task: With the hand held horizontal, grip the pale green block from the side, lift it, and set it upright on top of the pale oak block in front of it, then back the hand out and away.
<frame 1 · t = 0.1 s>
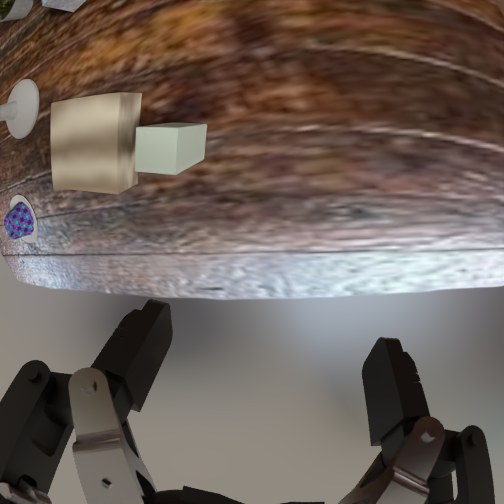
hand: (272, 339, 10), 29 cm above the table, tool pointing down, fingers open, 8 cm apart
candlestick: (23, 108, 34), on the table
oak block: (103, 138, 36), on the table
house plant: (27, 11, 22), on the table
pale green block: (188, 140, 35), on the table
pudding: (25, 217, 46), on the table
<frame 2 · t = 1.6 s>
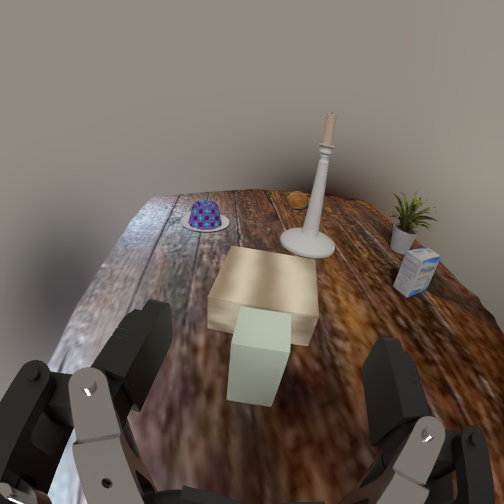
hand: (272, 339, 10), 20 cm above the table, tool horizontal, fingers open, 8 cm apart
candlestick: (307, 244, 63), on the table
medicine box: (409, 289, 50), on the table
oak block: (263, 307, 42), on the table
pastry: (297, 205, 87), on the table
house plant: (395, 250, 66), on the table
pale green block: (251, 386, 29), on the table
pudding: (204, 224, 67), on the table
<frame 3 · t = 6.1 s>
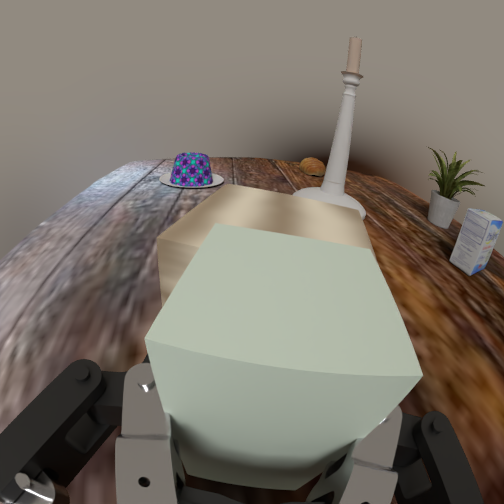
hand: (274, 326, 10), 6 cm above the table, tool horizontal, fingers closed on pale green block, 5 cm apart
candlestick: (328, 207, 45), on the table
medicine box: (466, 266, 32), on the table
oak block: (272, 281, 24), on the table
pastry: (312, 174, 69), on the table
house plant: (435, 224, 48), on the table
pale green block: (249, 442, 11), on the table, touching gripper
pudding: (191, 183, 49), on the table
when the fingers open (13 cm above the table, at t = 11.8 s): pale green block drops 2 cm, resting on oak block.
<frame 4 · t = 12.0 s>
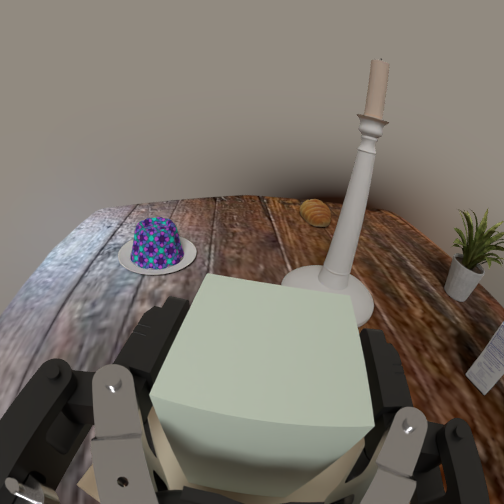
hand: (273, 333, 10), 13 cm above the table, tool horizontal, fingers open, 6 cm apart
candlestick: (327, 297, 35), on the table
medicine box: (483, 373, 23), on the table
oak block: (237, 474, 15), on the table, touching pale green block
pastry: (315, 220, 60), on the table
house plant: (452, 295, 38), on the table
pale green block: (244, 454, 12), point 6 cm above the table, touching oak block
pudding: (157, 257, 40), on the table
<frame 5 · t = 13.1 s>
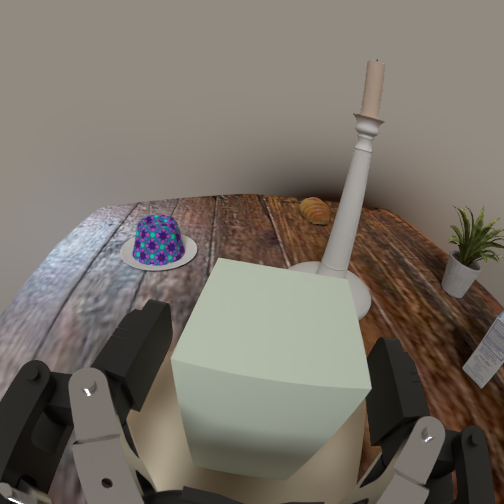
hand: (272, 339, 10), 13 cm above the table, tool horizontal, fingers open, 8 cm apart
candlestick: (325, 292, 36), on the table
medicine box: (480, 368, 24), on the table
oak block: (238, 463, 16), on the table, touching pale green block
pastry: (314, 218, 61), on the table
house plant: (449, 292, 39), on the table
pale green block: (246, 437, 13), point 6 cm above the table, touching oak block
pudding: (158, 253, 40), on the table
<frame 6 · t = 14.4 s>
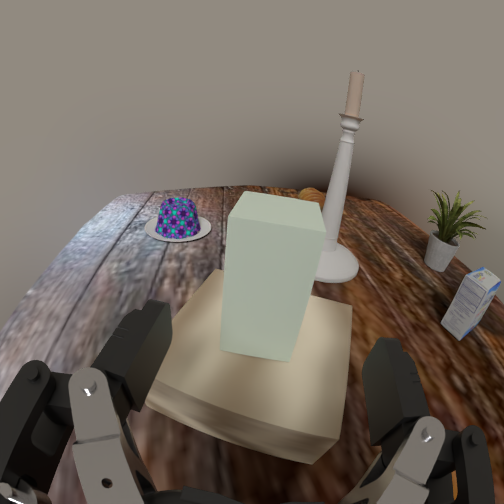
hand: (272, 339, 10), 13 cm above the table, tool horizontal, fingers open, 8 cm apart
candlestick: (320, 260, 44), on the table
medicine box: (458, 325, 31), on the table
oak block: (252, 379, 23), on the table
pastry: (312, 206, 69), on the table
house plant: (431, 267, 47), on the table
pale green block: (258, 332, 21), point 6 cm above the table
pudding: (177, 230, 48), on the table
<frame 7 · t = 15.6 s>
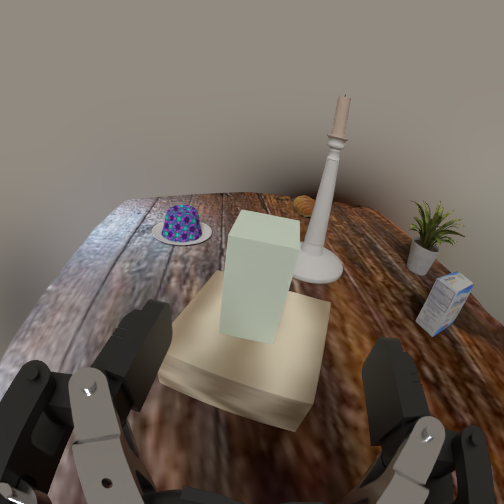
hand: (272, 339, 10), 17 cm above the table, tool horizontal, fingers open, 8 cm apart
candlestick: (308, 263, 49), on the table
medicine box: (433, 324, 37), on the table
oak block: (247, 362, 29), on the table
pastry: (305, 212, 75), on the table
house plant: (413, 270, 53), on the table
pale green block: (250, 320, 26), point 6 cm above the table
pudding: (181, 234, 54), on the table
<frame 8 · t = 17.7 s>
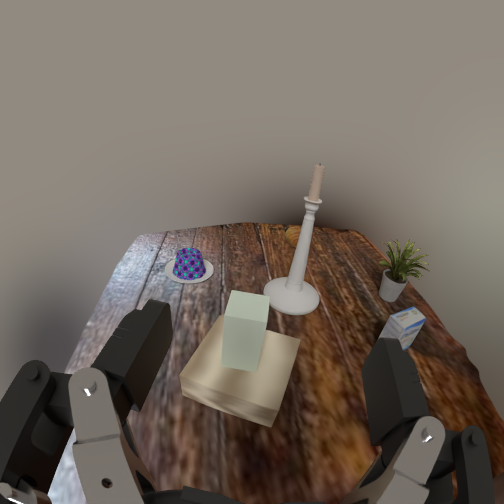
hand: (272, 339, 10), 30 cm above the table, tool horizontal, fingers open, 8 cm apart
candlestick: (291, 296, 62), on the table
medicine box: (391, 347, 49), on the table
oak block: (241, 379, 41), on the table
pastry: (296, 242, 87), on the table
house plant: (384, 297, 65), on the table
pale green block: (241, 356, 38), point 6 cm above the table
pudding: (189, 272, 66), on the table
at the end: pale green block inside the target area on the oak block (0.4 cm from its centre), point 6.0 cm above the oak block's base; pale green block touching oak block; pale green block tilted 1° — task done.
